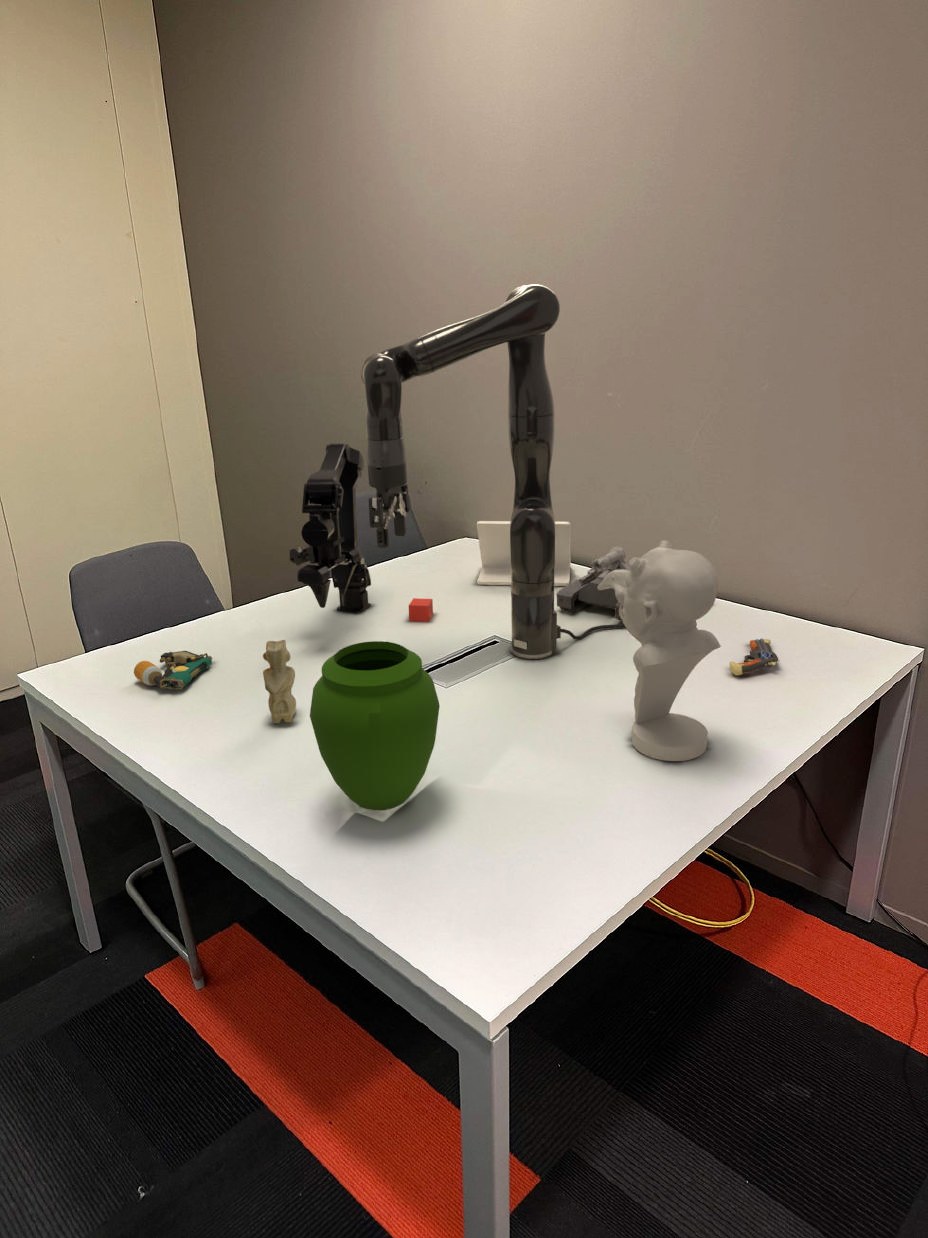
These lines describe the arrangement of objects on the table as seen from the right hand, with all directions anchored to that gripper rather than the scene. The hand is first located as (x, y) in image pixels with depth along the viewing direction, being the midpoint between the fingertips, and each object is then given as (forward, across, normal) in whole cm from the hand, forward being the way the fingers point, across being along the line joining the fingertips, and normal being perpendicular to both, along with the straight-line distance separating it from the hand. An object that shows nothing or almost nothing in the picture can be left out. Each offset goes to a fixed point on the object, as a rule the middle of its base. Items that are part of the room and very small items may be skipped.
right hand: (392, 541), depth 173 cm
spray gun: (+27, +18, -44) cm, 54 cm away
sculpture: (+28, +28, -12) cm, 41 cm away
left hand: (+18, -10, -20) cm, 29 cm away
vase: (+28, +48, +18) cm, 58 cm away
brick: (+28, -29, -7) cm, 40 cm away
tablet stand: (+28, -68, +9) cm, 74 cm away
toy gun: (+28, -23, +71) cm, 79 cm away
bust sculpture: (+28, +17, +55) cm, 64 cm away
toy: (+28, -50, +38) cm, 68 cm away
